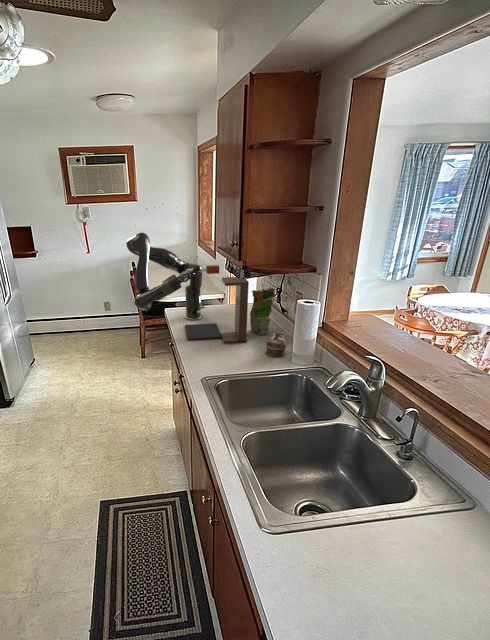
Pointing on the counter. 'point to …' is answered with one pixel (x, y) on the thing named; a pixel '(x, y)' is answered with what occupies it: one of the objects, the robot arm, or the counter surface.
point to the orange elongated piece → (209, 269)
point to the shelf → (238, 310)
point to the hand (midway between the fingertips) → (199, 266)
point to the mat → (202, 331)
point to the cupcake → (276, 345)
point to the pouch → (261, 310)
